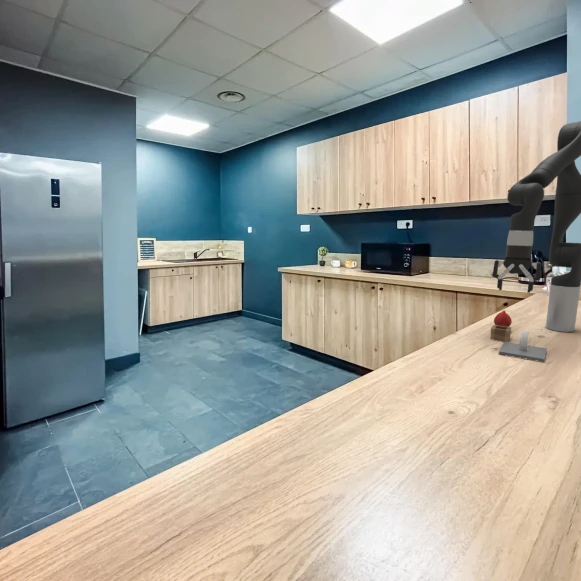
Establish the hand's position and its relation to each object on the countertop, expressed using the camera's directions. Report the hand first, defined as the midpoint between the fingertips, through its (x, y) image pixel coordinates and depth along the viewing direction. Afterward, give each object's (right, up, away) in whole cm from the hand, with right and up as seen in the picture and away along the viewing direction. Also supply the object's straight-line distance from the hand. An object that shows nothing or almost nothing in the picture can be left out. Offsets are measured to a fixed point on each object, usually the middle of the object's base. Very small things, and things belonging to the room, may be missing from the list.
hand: (514, 291), depth 132 cm
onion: (+3, -15, +14) cm, 21 cm away
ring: (-3, -17, +4) cm, 18 cm away
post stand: (-4, -20, -11) cm, 23 cm away
